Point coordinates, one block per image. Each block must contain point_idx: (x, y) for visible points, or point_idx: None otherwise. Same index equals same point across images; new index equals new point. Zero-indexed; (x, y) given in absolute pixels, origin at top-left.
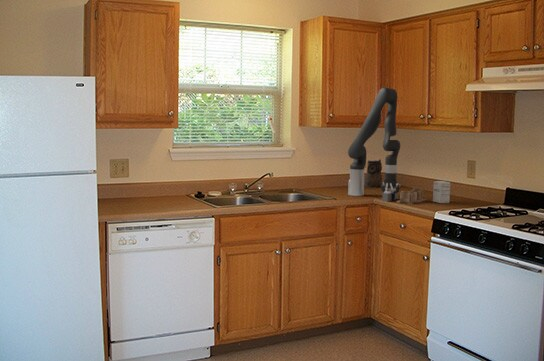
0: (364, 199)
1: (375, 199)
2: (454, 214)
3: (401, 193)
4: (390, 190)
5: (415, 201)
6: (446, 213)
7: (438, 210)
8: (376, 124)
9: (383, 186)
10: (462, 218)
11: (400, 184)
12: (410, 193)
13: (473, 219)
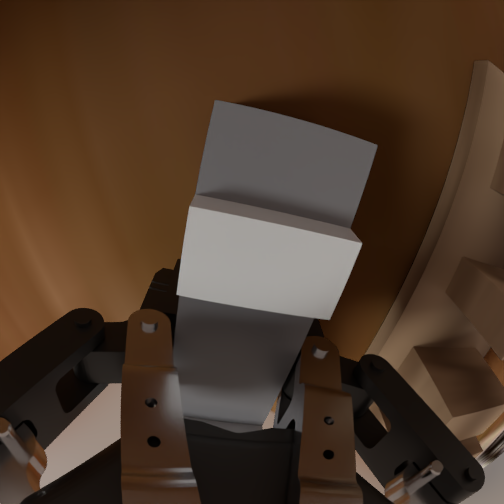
0: (8, 338)
1: (61, 303)
2: (493, 447)
3: None
4: (196, 297)
5: (487, 350)
6: (481, 452)
7: (485, 436)
8: None
9: (37, 421)
10: (481, 465)
11: (473, 490)
12: (473, 442)
13: (496, 457)
